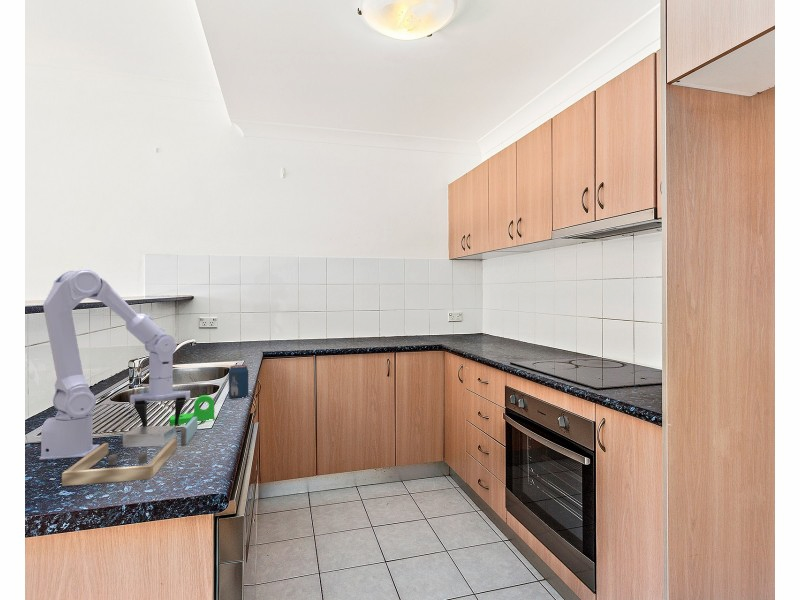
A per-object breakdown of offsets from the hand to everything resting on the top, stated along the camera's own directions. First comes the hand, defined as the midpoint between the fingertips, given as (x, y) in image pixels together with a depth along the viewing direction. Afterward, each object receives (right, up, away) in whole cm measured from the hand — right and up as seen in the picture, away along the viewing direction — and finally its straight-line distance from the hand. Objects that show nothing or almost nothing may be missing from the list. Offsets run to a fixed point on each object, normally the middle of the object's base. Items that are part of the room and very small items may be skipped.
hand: (160, 426), depth 123 cm
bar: (+10, -2, -5) cm, 11 cm away
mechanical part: (+3, -2, +12) cm, 12 cm away
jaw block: (+2, -2, -9) cm, 9 cm away
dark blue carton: (+6, -2, +43) cm, 44 cm away
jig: (+6, -2, -23) cm, 24 cm away
